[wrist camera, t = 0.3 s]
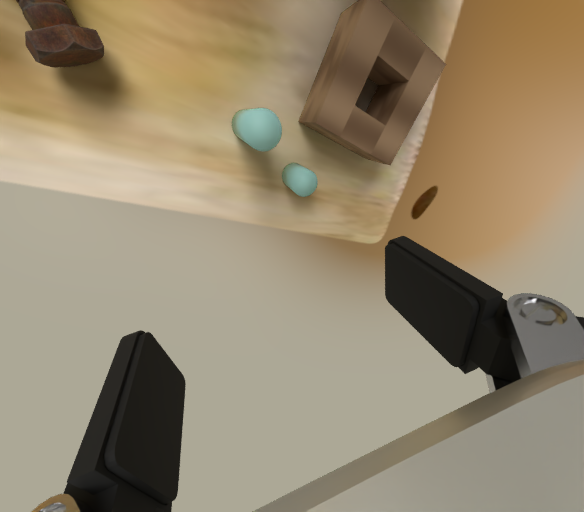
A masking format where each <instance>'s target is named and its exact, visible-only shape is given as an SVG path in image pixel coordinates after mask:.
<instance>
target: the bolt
mask: <svg viewBox="0 0 584 512" xmlns="http://www.w3.org/2000/svg"><path fill="white" fill-rule="evenodd" d="M16 1H17V2H18V3H19V6H20V7H21V9H22V11H23V15H24V16H25V18H26V20H27V22H28V23H29V25H30V27H31V28H32V30H31V31H26V32H25V38H26V46H27V48H28V50H29V51H30V53H31V54H32V56H33V58H34V59H35V61H37V62H38V63H41V64H43V65H46V66H50V67H71V66H78V65H82V64H88V63H91V62H94V61H96V60H98V59H100V58H102V57H103V56H104V46H103V43H102V41H101V39H100V37H99V35H98V33H97V31H96V30H93V29H88V28H83V27H79V26H78V24H77V22H76V20H75V18H74V16H73V14H72V12H71V10H70V9H69V8H68V7H67V5H66V4H65V1H64V0H16Z"/></svg>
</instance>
